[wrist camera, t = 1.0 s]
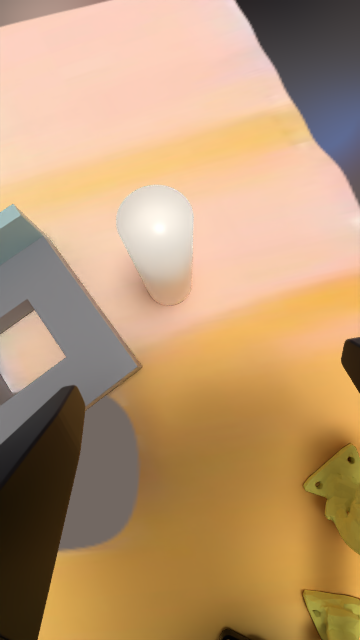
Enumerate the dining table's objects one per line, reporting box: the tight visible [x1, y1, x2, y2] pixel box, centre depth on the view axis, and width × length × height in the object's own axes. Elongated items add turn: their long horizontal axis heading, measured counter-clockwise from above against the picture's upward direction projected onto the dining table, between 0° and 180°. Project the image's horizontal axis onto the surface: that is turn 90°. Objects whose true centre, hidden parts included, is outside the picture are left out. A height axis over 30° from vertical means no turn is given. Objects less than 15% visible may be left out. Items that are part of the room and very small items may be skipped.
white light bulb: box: [116, 185, 194, 306], centre depth 18 cm, size 4×4×10 cm
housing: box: [0, 204, 142, 444], centre depth 20 cm, size 15×14×5 cm
